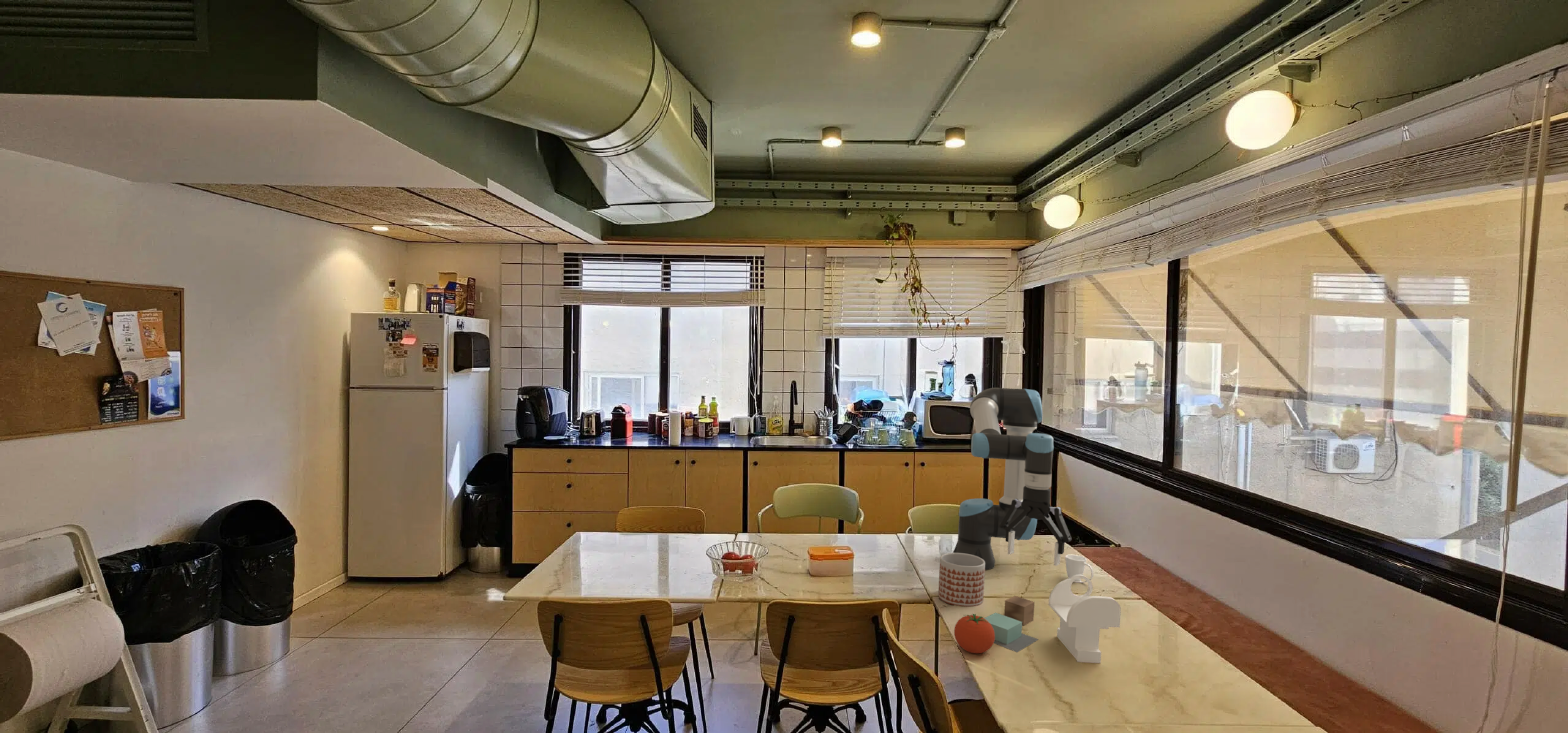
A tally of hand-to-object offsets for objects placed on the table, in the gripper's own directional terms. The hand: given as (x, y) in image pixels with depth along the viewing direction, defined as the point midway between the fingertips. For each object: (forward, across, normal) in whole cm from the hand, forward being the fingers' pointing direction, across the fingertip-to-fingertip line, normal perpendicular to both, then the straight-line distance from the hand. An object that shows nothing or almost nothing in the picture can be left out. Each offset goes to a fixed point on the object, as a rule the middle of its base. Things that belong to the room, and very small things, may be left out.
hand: (1033, 559), depth 197 cm
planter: (+18, -22, -1) cm, 28 cm away
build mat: (+18, -1, -18) cm, 25 cm away
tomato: (+18, -2, -32) cm, 37 cm away
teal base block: (+18, -1, -18) cm, 25 cm away
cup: (+18, 0, +44) cm, 48 cm away
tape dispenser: (+18, +18, -10) cm, 27 cm away
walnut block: (+18, -2, -4) cm, 19 cm away
